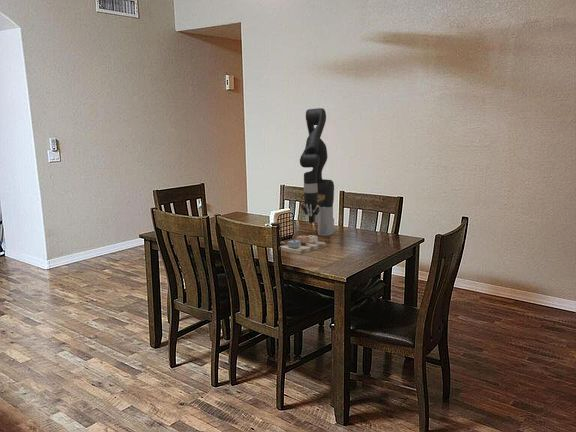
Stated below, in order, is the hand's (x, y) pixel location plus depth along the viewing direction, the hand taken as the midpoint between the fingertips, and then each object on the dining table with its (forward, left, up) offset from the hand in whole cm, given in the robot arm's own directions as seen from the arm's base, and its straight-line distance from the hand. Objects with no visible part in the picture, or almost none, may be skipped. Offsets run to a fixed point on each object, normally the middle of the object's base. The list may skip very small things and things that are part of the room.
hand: (311, 222), depth 273 cm
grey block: (+14, 0, -11) cm, 18 cm away
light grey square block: (0, 0, -11) cm, 11 cm away
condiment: (+8, -18, -13) cm, 24 cm away
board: (+7, 0, -13) cm, 15 cm away
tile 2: (+7, 0, -9) cm, 12 cm away
